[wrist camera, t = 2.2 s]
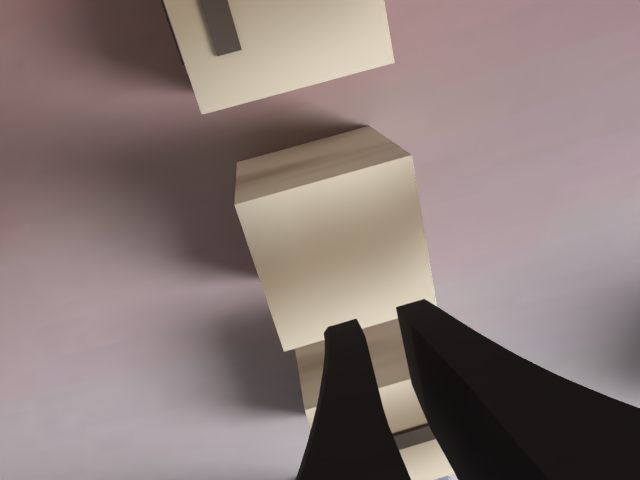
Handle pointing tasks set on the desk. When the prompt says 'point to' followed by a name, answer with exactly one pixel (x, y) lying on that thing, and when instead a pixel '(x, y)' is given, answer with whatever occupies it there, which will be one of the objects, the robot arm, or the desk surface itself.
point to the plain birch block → (334, 233)
